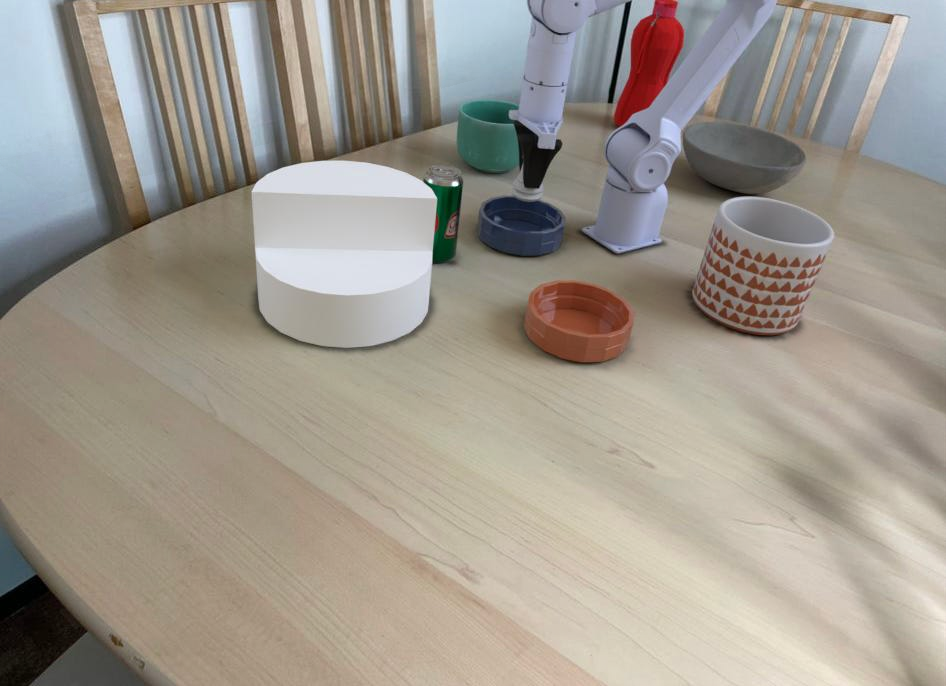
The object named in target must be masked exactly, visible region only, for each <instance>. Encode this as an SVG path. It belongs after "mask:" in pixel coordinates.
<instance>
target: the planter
mask: <svg viewBox="0 0 946 686" xmlns="http://www.w3.org/2000/svg"><path fill="white" fill-rule="evenodd" d="M713 221H714V222H713V224H712V228H711V231H710V234H709V237H708V240H707V242H706V243H707V244H706V246H705V249H704V253H703V256H702V258H701V262H700V266H699V268H698V272H697V274H696V278H695V281H694V284H693V286H692V291H691V297H692V300H693V302H694V304H695V306H696V307H697V308H698V309H699V311H700V312H701V313H703V314H704V315H705V316H706V317H708V318H709V319H711V320H713V321H714V322H715V323H718V324H720V325H722V326H724V327H726V328H729V329H731V330H734V331H737V332H741V333H745V334H748V335H749V334H750V335H757V336H778V335H783V334H786V333H788V332H790V331H792V330H794V329H795V328H796V327H797V326H798V324H799V321H800V319H801V317H802V314H803V313H804V309H805V307H806V305H807V303H808V300H809V298H810V296H811V294H812V291H813V289H814V286H815V284H816V281H817V280H818V277H819V275H820V273H821V269H822V268H823V265H824V263H825V261H826V258H827V256H828V253H829V251H830V249H831V247H832V244H833V242H834V239H835V232H834V229H833V228H832V226H831V225H830V224H829V223H828V222H827V221H826V220H824V219H823V218H822V217H820V216H819V215H817V214H816V213H814V212H812V211H810V210H808V209H805V208H803V207H801V206H798V205H795V204H793V203H790V202H786V201H782V200H778V199H774V198H768V197H762V196H736V197H732V198H728V199H726V200H724V201H723V202H721V204H720V205H719V206H718V209H717V212H716V215H715V218H714V220H713Z"/></svg>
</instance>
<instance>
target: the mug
mask: <svg viewBox="0 0 946 686" xmlns="http://www.w3.org/2000/svg"><path fill="white" fill-rule="evenodd" d="M518 109H519V104H516V103H514V102H509V101H505V100H497V99H476V100H475V99H474V100H470V101H466V102H464V103H462V104H461V105H460V107H459V111H458V117H457V128H456V129H457V130H456V146H457V147H456V148H457V153H458V154H459V156H460V158H461V159H462V160H463V161H464V162H465V163H467V164H468V165H470V166H471V167H472V168H473V169H475V170H478V171H480V172H485V173H490V174H501V173H502V174H503V173H506V172H509V171H510V170H513V169H515V168H517V167H519V148H518V139H517V134H516V130H515V127H514V124H513V122H514V121H516V120H512V119H510V118H509V110H518Z"/></svg>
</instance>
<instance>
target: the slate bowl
mask: <svg viewBox="0 0 946 686" xmlns="http://www.w3.org/2000/svg"><path fill="white" fill-rule="evenodd" d="M477 215H478V216H477V224H476V233H477V235H478V237H479V239H480V240H481V241H483V243H484V244H486V245H487V246H489V247H491V248H493V250H494V249H495V250H497V251H500V252H502V253H505V254H509V255H514V256H519V257H536V256H542V255H546V254H550V253H553V252H555V251H556V250H557V249H559V248H560V247H561V245H562V241H563V236H564V230H565V226H566V221H567V218H566V216H565V214H564V213H563V211H562V210H561V209H560V208H558V207H556V206H554V205H553V204H552V203H550V202H547V201H544V200H541V199H539V200H538V201H535V202H526V201H521V200H518V199H517V198H515V197H514V196H513V195H500V196H495V197H494V196H493V197H490V198H488V199H487V200H484V201H482V203H481V204H480V207H479V209H478V214H477Z"/></svg>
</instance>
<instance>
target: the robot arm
mask: <svg viewBox="0 0 946 686" xmlns="http://www.w3.org/2000/svg"><path fill="white" fill-rule="evenodd" d="M631 1H632V0H526V6H527V10H528V13H529V14H530V16H531V23H530V30H529V37H528V40H527V41H528V42H527V47H526V55H525V60H524V61H525V62H524V68H523V76H522V84H521V90H520V98H519V104H518V105H519V109H518V110H509V118H510V119H512V120H516V121H514V122H513V124H514V127H515V130H516V134H517V139H518V148H519V166H518V168H519V169H518V170H519V172H520V171H521V168H522V165H523V183H524V187H525V188H536V189H539V188H540V186H541V184H543V181H544V179H545V176H546V175H547V174H546V173H547V171H548V169H549V167H550V165H551V163H552V161H553V160H554V158H555V157H556V155H557V154H558V153H559V152H560V151H561V150H562V148H563V142H562V139H561V138H559V139H558V138H557V133H558V132H559V130H560V128H561V127H562V125H563V122H564V116H563V112H564V107H565V103H566V96H567V90H568V85H569V79H570V74H571V67H572V62H573V58H574V57H573V56H574V51H575V43H576V38H577V32H578V31H579V30H580V29H581V28H582V27H583V26H584V25H585V23H586V22H587V20H588V18H591V17H594V16H597V15H599V14H601V13H604V12H606V11H609V10H611V9H613V8H614V9H615V8H616V7H619V6H621V5H624V4H626V3H630V2H631ZM777 2H778V0H726V2H725V5H724V7H722V9H721V10H720V12H719V13H718V14H717V16H716V17H714V19H713V21H712V22H711V24H710V25H709V26H708V27H707V29H706V31H705V32H704V33H703V34H702V36H701V37H700V39H699V40H697V42H696V44H695V45H694V47H693V48H692V49H691V51H690V52H689V53H688V55H687V56H686V57H685V58H684V60H683V61H682V63H681V64H680V65H679V67H677V69H676V71H675V72H674V73H673V75H672V76H671V77H670V78H669V79H668V83H667V84H666V85H665V87H664V88H663V89H662V91H661V92H660V93H659V95H658V96H657V97H656V99H655V100H654V101H653V103H652V104H651V105H650V107H649V108H647V109H645V110H642V111H639V112H637V113H635V114H633V115H632V116H631V117H630V118H629V120H628V121H627V122H626V123H625V124H624V125H623V126H621V127H617V128H616V129H614V130H613V131H612V132H611V133H610V135H609V136H608V137H607V139H606V141H605V143H604V146H603V147H604V148H603V154H604V158H605V160H606V161H607V163H608V167H607V172H606V175H605V180H604V184H603V190H602V193H601V199H600V203H599V207H598V211H597V217H596V222H595V224H594V225H593V224H592V225H589V226H584V227H582V228H581V232H582V233H583V234H585V235H586V236H588V237H590V238H591V239H593V240H594V241H595V242H598V243H599V244H600V245H602V246H603V247H604V248H606V249H608V250H610V251H611V252H613V253H615V254H616V255H617V254H622V253H626V252H631V251H635V250H638V249H641V248H645V247H650V246H654V245H658V244H662V243H663V242H662V241H663V239H662V238H660V237H659V235H660V231H661V227H662V224H663V220H664V217H665V213H666V210H667V207H668V202H669V201H668V200H669V196H668V189H667V187H666V185H665V184H664V183H665V182H666V181H667V179H668V178H669V176H670V174H671V171H672V168H673V164H674V162H675V160H676V159H677V158H678V157H679V155H680V153H681V152H682V140H681V139H682V137H681V134H682V131H683V130H684V128H685V127H686V126H687V125H688V123H689V122H690V121H691V119H692V118H693V117H694V115H696V113H697V112H698V110H699V109H700V108H701V107H702V105H703V104H704V103H705V101H707V98H708V97H710V95H711V94H712V92H713V91H714V90H715V89H716V87H717V86H718V84H720V82H721V81H722V79H723V78H724V77H725V76H726V74H727V73H728V72H729V71H730V69H731V68H732V67H733V65H734V64H735V63H736V62H737V60H738V59H739V58H740V57H741V55H742V54H743V52H744V51H745V50H746V49H747V47H748V46H749V45H750V43H751V42H752V41H753V40H754V38H755V37H756V36H757V35H758V33H759V32H760V30H761V29H762V28H763V27H764V26H765V24H766V23H767V21H768V20H769V19H770V17H771V16H772V14H773V13H774V10H775V8H776V5H777ZM522 156H523V157H522Z"/></svg>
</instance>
